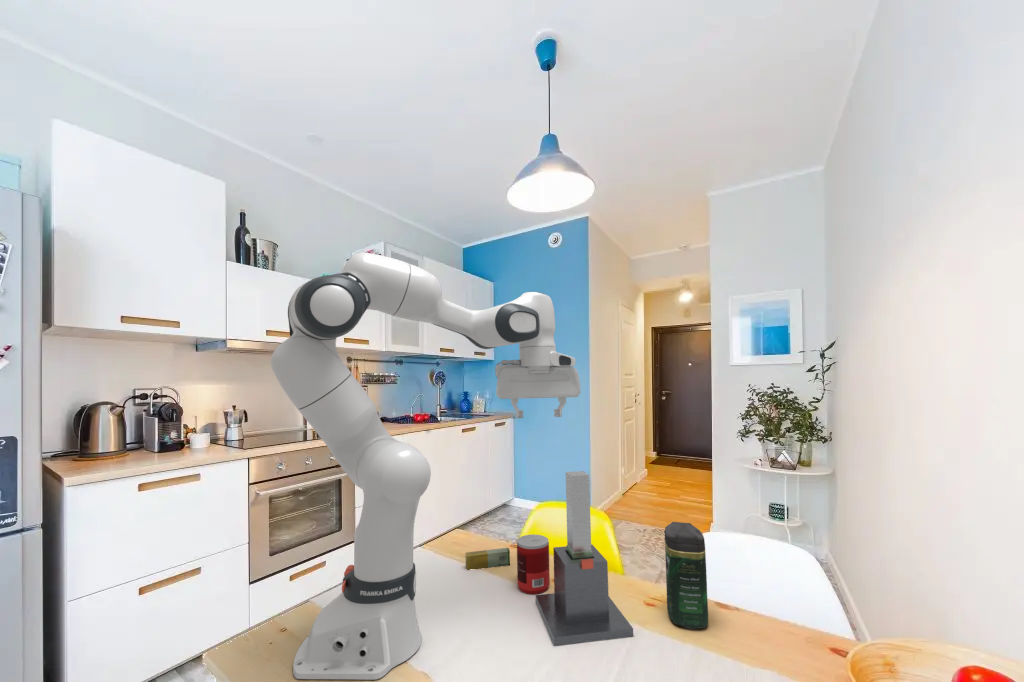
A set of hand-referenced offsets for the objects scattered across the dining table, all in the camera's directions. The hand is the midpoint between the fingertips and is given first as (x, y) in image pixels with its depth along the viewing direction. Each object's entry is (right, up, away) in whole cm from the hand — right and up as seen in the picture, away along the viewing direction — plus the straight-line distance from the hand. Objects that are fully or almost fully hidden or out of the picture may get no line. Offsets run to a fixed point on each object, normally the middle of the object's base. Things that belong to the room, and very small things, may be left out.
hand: (538, 417), depth 102 cm
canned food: (-1, -42, +1) cm, 42 cm away
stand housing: (+8, -40, -12) cm, 43 cm away
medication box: (-13, -43, +13) cm, 47 cm away
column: (+8, -32, -12) cm, 35 cm away
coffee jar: (+30, -40, -13) cm, 52 cm away
